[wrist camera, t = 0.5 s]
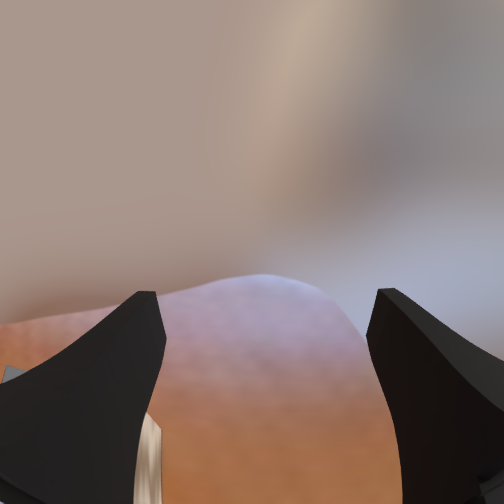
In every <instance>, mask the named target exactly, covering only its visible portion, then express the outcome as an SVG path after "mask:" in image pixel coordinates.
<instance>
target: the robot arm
mask: <svg viewBox="0 0 504 504" xmlns="http://www.w3.org/2000/svg"><path fill="white" fill-rule="evenodd" d="M366 338H367V343H368V347H369V352H370V356H371V360H372V363H373V366H374V368H375V371H376V374H377V377H378V379H379V382H380V385H381V387H382V390H383V393H384V396H385V398H386V401H387V404H388V407H389V410H390V413H391V416H392V420H393V423H394V428H395V433H396V438H397V444H398V450H399V457H400V465H401V476H402V492H403V504H504V361H502V360H500V359H498V358H497V357H495V356H493V355H491V354H489V353H487V352H486V351H484V350H482V349H480V348H479V347H477V346H475V345H474V344H472V343H470V342H469V341H468V340H466V339H465V338H463V337H462V336H460V335H459V334H457V333H456V332H454V331H453V330H451V329H450V328H449V327H447V326H446V325H445V324H443V323H442V322H441V321H439V320H438V319H437V318H435V317H434V316H432V315H431V314H430V313H429V312H427V311H426V310H424V309H423V308H422V307H420V306H419V305H418V304H416V303H415V302H414V301H413V300H411V299H410V298H409V297H407V296H406V295H404V294H403V293H401V292H400V291H398V290H396V289H395V288H385V289H378V291H377V296H376V300H375V304H374V308H373V311H372V315H371V319H370V323H369V326H368V330H367V333H366ZM166 339H167V338H166V334H165V330H164V326H163V322H162V318H161V314H160V310H159V306H158V301H157V297H156V292H155V291H154V292H153V291H138V292H136V293H135V294H133V295H132V296H131V297H130V298H128V299H127V300H126V301H125V302H123V303H122V304H121V305H120V306H119V307H117V308H116V309H115V310H114V311H113V312H111V313H110V314H109V315H108V316H106V317H105V318H104V319H103V320H102V321H100V322H99V323H98V324H97V325H96V326H94V327H93V328H92V329H90V330H89V331H88V332H87V333H85V334H84V335H83V336H81V337H80V338H79V339H77V340H76V341H75V342H74V343H72V344H71V345H69V346H68V347H67V348H65V349H64V350H62V351H61V352H59V353H58V354H56V355H55V356H53V357H52V358H50V359H48V360H47V361H45V362H43V363H42V364H40V365H38V366H36V367H34V368H33V369H31V370H29V371H27V372H25V373H23V374H21V375H20V376H17V377H15V378H13V379H11V380H9V381H6V382H4V383H2V384H0V504H134V484H135V471H136V463H137V455H138V448H139V442H140V436H141V430H142V426H143V422H144V418H145V415H146V411H147V408H148V405H149V402H150V399H151V396H152V393H153V390H154V387H155V384H156V380H157V377H158V374H159V371H160V368H161V365H162V360H163V356H164V350H165V345H166Z"/></svg>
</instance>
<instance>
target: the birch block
mask: <svg viewBox="0 0 504 504" xmlns="http://www.w3.org/2000/svg"><path fill="white" fill-rule="evenodd" d="M134 504H162V430H161V429H160V428H159V427H158V425H157V424H156V423H155V422H154V421H153V419H152V418H151V417H150V416H149V415H148V413H147V412H146V415H145V418H144V422H143V426H142V430H141V436H140V442H139V448H138V455H137V463H136V471H135V484H134Z"/></svg>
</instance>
